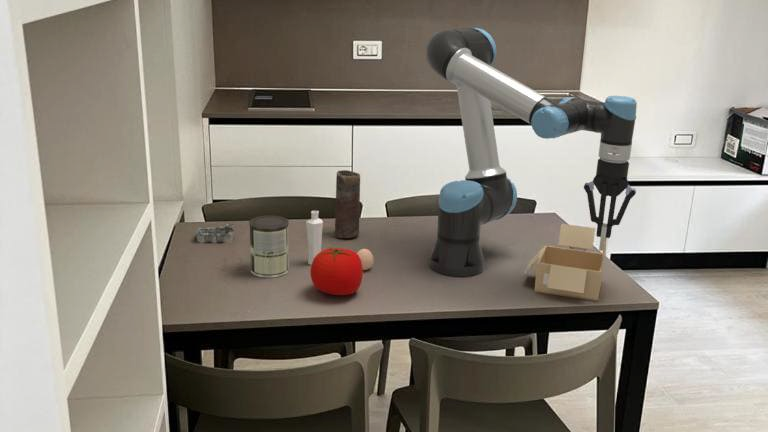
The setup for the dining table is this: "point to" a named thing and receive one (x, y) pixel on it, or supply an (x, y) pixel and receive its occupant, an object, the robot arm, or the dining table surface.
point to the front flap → (567, 278)
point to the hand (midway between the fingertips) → (601, 248)
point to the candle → (347, 204)
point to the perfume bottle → (314, 235)
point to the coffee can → (269, 246)
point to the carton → (574, 260)
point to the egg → (365, 258)
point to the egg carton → (215, 234)
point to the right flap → (604, 251)
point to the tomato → (337, 271)
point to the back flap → (576, 236)
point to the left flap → (533, 261)
